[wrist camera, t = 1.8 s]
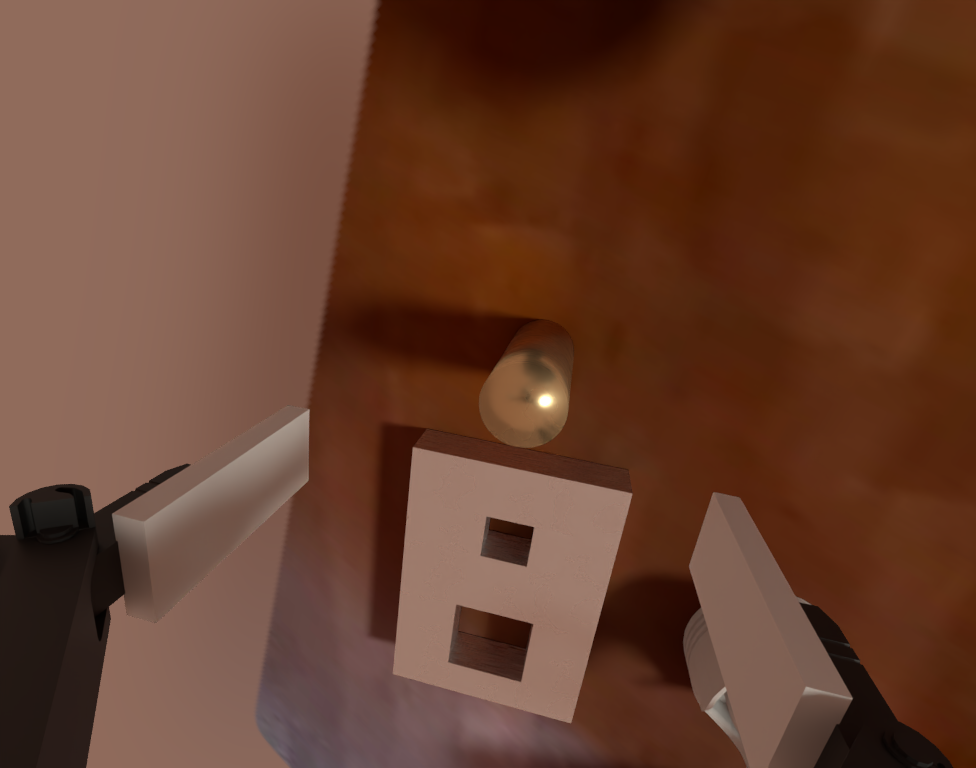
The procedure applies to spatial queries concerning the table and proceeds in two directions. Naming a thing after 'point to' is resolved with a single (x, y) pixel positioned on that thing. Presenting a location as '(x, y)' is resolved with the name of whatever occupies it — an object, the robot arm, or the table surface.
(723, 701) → the engine component
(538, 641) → the white peg hole board
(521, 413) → the cylinder
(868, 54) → the table surface
